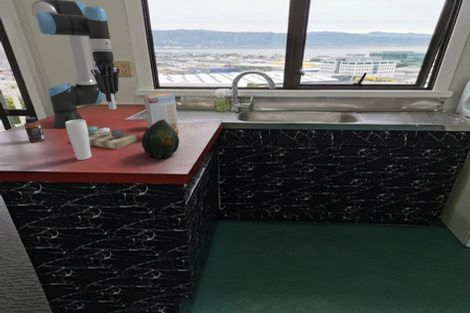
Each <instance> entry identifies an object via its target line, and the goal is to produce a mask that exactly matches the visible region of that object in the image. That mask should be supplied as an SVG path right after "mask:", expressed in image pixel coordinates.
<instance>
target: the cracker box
mask: <svg viewBox="0 0 470 313" xmlns="http://www.w3.org/2000/svg"><path fill="white" fill-rule="evenodd" d="M175 95H176V94H175V93H172V92H167V93H158V94H157V93H156V94H147V95H143V103H144V110H145V115H146V123H147V129H148V128H149V127H150V126H152V125H153V124H154V123H156V122H157V121H159V120H163V119H164V120H165V121H166V122H167V123H168V124H169V125H170V126H171V127H172V128H173V129H174V130H175V131H176V133H177V135H179V127H178V126H179V123H178V115H177V114H178V113H177V112H178V111H177V107H176V96H175Z"/></svg>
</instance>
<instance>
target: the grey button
mask: <svg viewBox="0 0 470 313" xmlns="http://www.w3.org/2000/svg"><path fill="white" fill-rule="evenodd" d="M110 132H111V134H112V136H113V137H118V136H122V135H124V134H125V133H124V130H123V129H121V128H119V129H113V130H110Z"/></svg>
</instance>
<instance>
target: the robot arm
mask: <svg viewBox="0 0 470 313" xmlns="http://www.w3.org/2000/svg"><path fill="white" fill-rule="evenodd" d="M31 13H32V15H33V18H35V19H36V21H37V25H38V29H39V31H40V33H42V34H43V35H50V36H54V35H55V36H56V35H57V36H68V37H69V38H68V39H69V44H70V48H71V54H72V57H73V61H74V67H75V71H76V72H75V73H76V77H77V80H75V82H74V83H75V85H72V83H69V82H68V83H61V84H55V85H51V86H49V87H48V88H47V92H48V97H49V99H50V100H49V101H50V102H51V106H52V110H53V120H52V121H53V122H52V124H53V127H54V128H55V129H66V125H65V122H67V121H70V120H79V119H82V120H84V118H82V116H81V114H80V112H79V111H78V107H81V106H82V107H83V106H95V105H100V104H101V103H102V102H103V100H104V95H105V100H106V102H107V104H108V109H109V110H116V109H117V110H118V108H117V102H116V100H117V99H116V94H117V93H118V92H119V74H120V68H116V67H115V64H114V60H115V58H114V53H113V52H112V50H113V48H112V41H111V36H110V30H109V23H108V17H107V14H106V10H105V9H104V8H103V7H99V6H87V5H86V4H85V3H83V2H81V1H76V0H37V1H35V2H34V3H33V4H32V5H31ZM88 37H89V38H88ZM89 43H90V45H89ZM90 48H91V51H92V52H91V51H90ZM91 55H92V57H91ZM92 58H93V59H92ZM92 60H93V61H94V62H95V63H94V68H93V63H92Z"/></svg>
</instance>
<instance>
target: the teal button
mask: <svg viewBox="0 0 470 313" xmlns="http://www.w3.org/2000/svg"><path fill="white" fill-rule="evenodd" d="M87 129H88V133H95V132H97V131H98V129H99V128H98V126H94V125H93V126H92V125H91V126H90V125H89V126H87Z"/></svg>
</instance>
